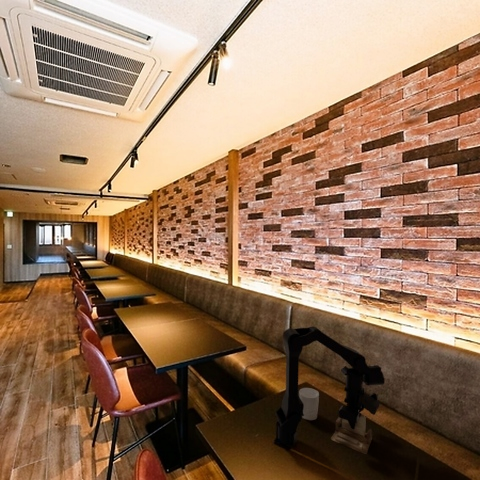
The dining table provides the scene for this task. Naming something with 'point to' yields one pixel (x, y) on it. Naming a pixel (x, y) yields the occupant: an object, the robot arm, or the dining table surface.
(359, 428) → the birch sheet
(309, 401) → the white cup
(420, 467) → the dining table surface
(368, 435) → the rack
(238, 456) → the dining table surface
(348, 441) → the offcut stack
